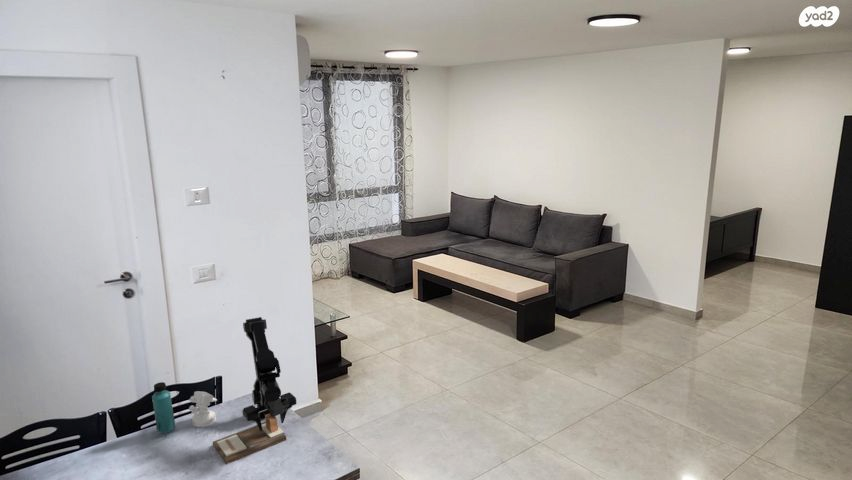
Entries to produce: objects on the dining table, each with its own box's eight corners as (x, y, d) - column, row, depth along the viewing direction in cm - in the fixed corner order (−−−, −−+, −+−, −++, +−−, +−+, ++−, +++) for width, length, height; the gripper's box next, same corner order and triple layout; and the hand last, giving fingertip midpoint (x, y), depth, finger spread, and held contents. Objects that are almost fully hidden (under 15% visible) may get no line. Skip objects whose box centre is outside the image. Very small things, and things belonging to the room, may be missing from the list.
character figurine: (187, 422, 208) (184, 394, 206) (209, 411, 216) (206, 384, 213) (200, 429, 203) (197, 401, 201) (222, 418, 211) (219, 390, 208)
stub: (260, 426, 202) (259, 413, 200) (273, 422, 205) (271, 408, 204) (271, 438, 194) (269, 424, 193) (283, 433, 197) (282, 420, 196)
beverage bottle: (179, 427, 205) (173, 379, 200) (169, 437, 198) (162, 388, 194) (163, 426, 206) (156, 379, 201) (153, 436, 199) (145, 388, 195)
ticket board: (213, 445, 193) (212, 439, 193) (271, 423, 207) (270, 418, 206) (225, 464, 183) (225, 458, 182) (286, 440, 196) (285, 434, 195)
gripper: (251, 406, 184) (255, 446, 187) (301, 388, 195) (304, 427, 199) (240, 393, 192) (244, 432, 196) (288, 377, 204) (291, 414, 207)
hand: (271, 426), depth 199 cm, fingers open, 8 cm apart
